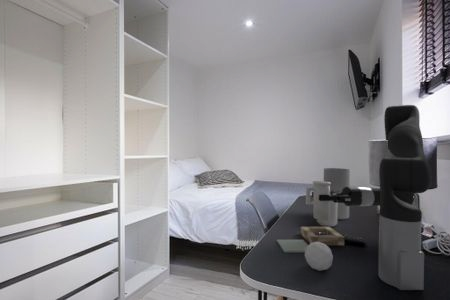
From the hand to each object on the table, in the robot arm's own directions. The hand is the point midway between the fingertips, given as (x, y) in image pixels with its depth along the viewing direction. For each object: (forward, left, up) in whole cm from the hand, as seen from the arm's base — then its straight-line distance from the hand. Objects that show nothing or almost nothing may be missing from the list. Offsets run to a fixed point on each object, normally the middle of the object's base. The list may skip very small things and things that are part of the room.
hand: (315, 196), depth 95 cm
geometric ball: (-23, +8, -17) cm, 30 cm away
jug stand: (0, -3, -17) cm, 17 cm away
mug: (+20, -15, -17) cm, 30 cm away
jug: (0, -1, -9) cm, 9 cm away
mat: (-7, +10, -17) cm, 21 cm away
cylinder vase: (+32, -25, -17) cm, 44 cm away
